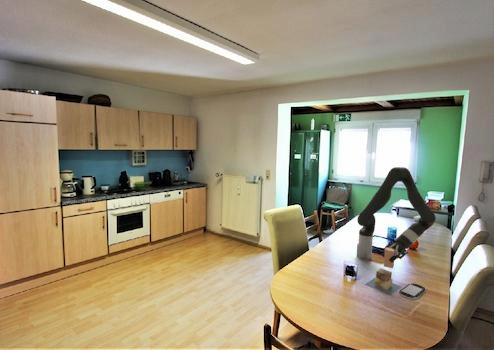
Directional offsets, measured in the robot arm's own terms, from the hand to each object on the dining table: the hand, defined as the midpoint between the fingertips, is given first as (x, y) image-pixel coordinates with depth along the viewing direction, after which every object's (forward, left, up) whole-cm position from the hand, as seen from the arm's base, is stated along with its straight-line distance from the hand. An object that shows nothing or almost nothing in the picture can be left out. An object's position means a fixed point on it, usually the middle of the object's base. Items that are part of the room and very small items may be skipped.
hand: (386, 258), depth 158 cm
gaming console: (+13, +6, -18) cm, 23 cm away
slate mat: (-1, -1, -17) cm, 17 cm away
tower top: (-1, -1, -12) cm, 12 cm away
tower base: (-1, -1, -16) cm, 16 cm away
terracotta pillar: (+1, +1, -4) cm, 5 cm away
